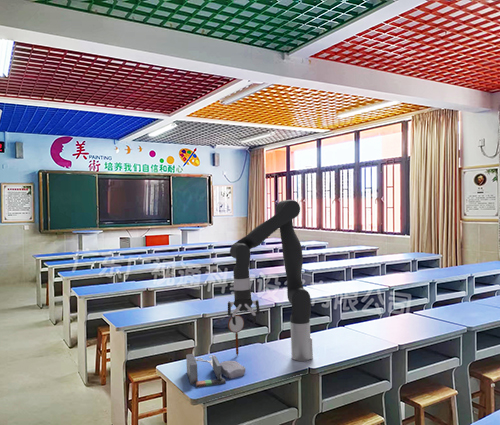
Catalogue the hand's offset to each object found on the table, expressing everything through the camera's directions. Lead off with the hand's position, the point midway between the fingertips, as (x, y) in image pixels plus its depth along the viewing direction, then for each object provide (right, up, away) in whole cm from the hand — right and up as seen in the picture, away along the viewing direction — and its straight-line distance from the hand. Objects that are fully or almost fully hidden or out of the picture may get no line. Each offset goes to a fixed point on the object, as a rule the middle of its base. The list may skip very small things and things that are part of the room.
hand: (244, 324), depth 184 cm
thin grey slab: (-11, -20, -7) cm, 24 cm away
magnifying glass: (-4, -21, +18) cm, 28 cm away
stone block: (-5, -21, -3) cm, 22 cm away
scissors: (-16, -22, +11) cm, 29 cm away
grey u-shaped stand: (-17, -21, -8) cm, 28 cm away
